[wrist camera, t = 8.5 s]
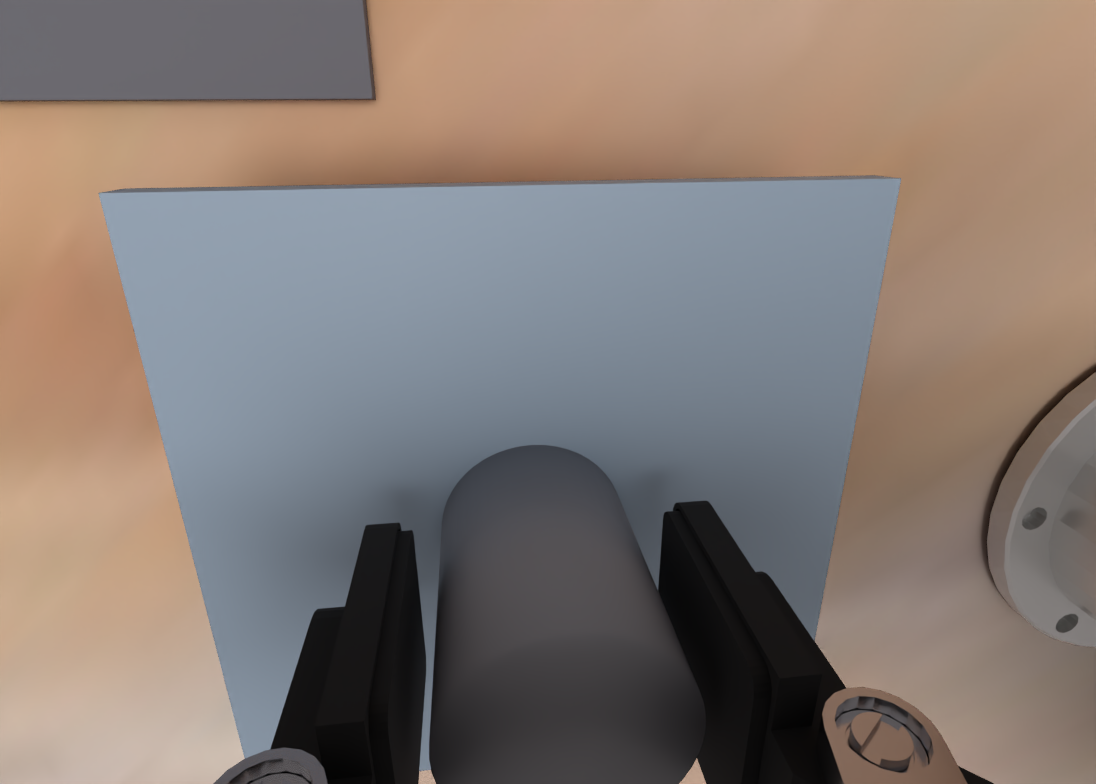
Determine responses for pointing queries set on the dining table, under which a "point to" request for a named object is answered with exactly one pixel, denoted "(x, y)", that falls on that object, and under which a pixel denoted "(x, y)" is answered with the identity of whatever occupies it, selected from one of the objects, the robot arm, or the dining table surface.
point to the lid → (504, 428)
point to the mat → (184, 50)
